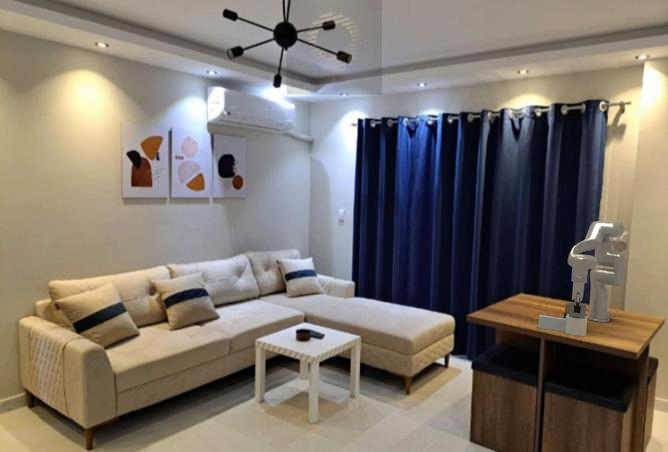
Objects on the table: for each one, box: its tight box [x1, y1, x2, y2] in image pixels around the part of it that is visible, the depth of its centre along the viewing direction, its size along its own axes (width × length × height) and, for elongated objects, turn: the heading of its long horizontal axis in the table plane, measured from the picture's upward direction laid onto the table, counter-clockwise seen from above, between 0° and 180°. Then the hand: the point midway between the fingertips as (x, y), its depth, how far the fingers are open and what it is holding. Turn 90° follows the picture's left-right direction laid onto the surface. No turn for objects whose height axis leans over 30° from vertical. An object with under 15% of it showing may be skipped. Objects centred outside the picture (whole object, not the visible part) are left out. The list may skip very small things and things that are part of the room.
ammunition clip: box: [563, 301, 570, 319], centre depth 282 cm, size 11×2×12 cm, turn 14°
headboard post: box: [537, 314, 588, 338], centre depth 267 cm, size 9×24×9 cm, turn 62°
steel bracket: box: [569, 301, 587, 319], centre depth 263 cm, size 3×8×11 cm, turn 62°
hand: (577, 311), depth 263 cm, fingers open, 4 cm apart
